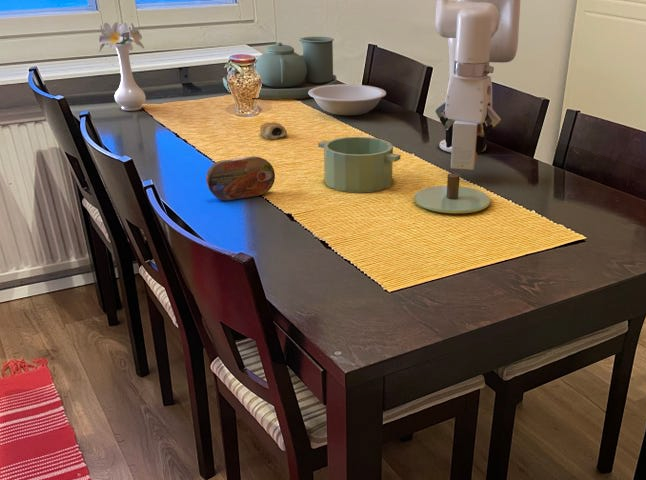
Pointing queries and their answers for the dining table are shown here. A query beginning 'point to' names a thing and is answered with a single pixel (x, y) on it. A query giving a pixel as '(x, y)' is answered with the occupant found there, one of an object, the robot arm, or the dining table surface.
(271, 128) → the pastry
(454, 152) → the small box
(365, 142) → the casserole
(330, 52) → the tea set
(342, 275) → the dining table surface
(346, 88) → the soup bowl
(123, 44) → the flower vase
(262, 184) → the tin
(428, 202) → the pot lid
